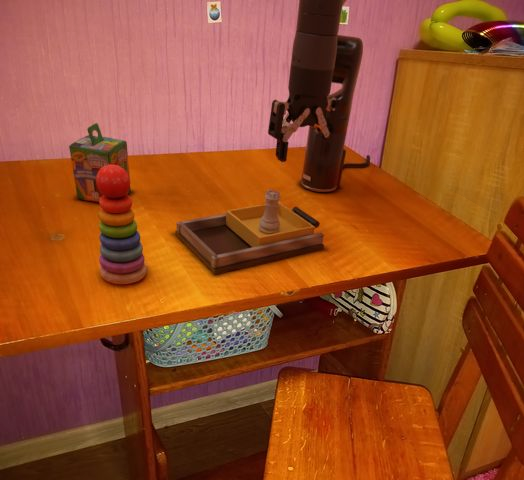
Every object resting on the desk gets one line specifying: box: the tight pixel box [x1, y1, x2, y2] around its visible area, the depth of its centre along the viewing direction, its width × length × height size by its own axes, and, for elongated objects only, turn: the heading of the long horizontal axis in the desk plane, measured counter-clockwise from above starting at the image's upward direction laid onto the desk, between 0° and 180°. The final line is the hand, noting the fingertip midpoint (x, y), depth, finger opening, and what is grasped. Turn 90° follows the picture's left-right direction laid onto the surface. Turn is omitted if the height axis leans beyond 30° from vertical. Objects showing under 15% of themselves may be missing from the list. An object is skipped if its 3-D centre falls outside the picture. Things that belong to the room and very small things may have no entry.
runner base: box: [175, 213, 325, 275], centre depth 98 cm, size 25×17×3 cm
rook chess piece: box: [259, 188, 282, 234], centre depth 97 cm, size 4×4×8 cm
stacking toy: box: [96, 165, 148, 285], centre depth 80 cm, size 8×8×19 cm
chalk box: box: [68, 122, 132, 203], centre depth 106 cm, size 9×9×15 cm
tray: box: [225, 201, 321, 247], centre depth 100 cm, size 16×13×3 cm
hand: (299, 158), depth 94 cm, fingers open, 8 cm apart
